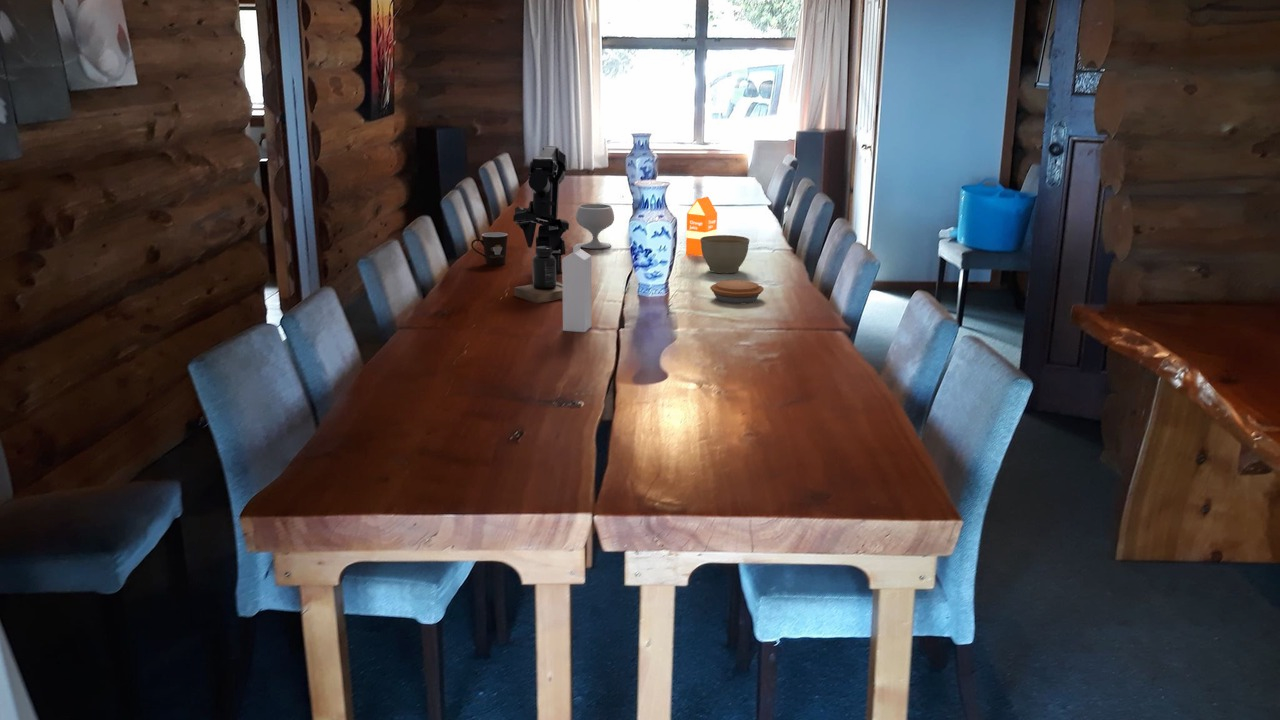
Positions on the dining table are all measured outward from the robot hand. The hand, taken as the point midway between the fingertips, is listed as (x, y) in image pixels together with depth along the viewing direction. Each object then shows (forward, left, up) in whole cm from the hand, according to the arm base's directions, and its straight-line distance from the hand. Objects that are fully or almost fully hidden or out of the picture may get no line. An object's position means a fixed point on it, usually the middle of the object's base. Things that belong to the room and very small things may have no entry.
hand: (540, 249), depth 308 cm
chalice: (-55, -47, -12) cm, 73 cm away
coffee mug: (-7, -41, -12) cm, 43 cm away
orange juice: (-78, -14, -12) cm, 80 cm away
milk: (+19, +46, -12) cm, 52 cm away
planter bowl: (-63, +14, -12) cm, 65 cm away
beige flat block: (+5, +10, -12) cm, 16 cm away
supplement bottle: (+5, +10, -9) cm, 15 cm away
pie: (-38, +46, -12) cm, 61 cm away
